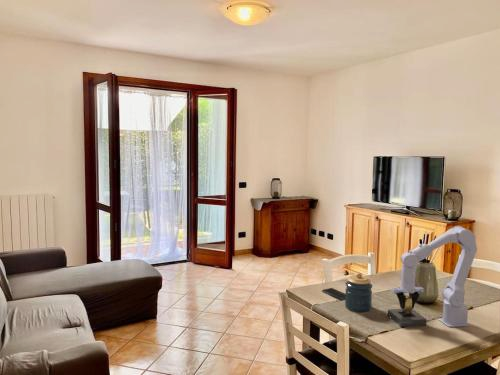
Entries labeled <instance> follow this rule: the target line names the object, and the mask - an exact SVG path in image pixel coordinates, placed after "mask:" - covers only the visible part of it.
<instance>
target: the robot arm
mask: <svg viewBox="0 0 500 375" xmlns="http://www.w3.org/2000/svg"><path fill="white" fill-rule="evenodd" d="M476 239H477V238H476V235H475V234H474V232H473V231H472V230H469V229H467V228H464V227H463V226H462V225H461V226H460V225H455V226H453V227H452V228H449V229H448V230H447V231H445V232H444V233H442V234H441V235H440V236H438V237H436V238H435V239H433V240H432V241H431V242H429V243H419V244H418V245H417V247H416V248H414V249H409V250H408V252H407V251H406V252H403V253H402V255H401V256H400V257H399V258H400V262H401V263H402V264H401V276H400V277H401V278H400V280H401V281H400V282H401V283H400V284H401V285H400V286H399V287H395V288H393V287H392V288H391V293H392V295H396V297H397V299H398V302H399V307H400V308H399V309H404V304H405V298H406V296H407V295H405V294H408V296H411V297H412V298H413V300H412V309H413V310H414V307H415V304H416V303H417V300H418V299H419V298H420V293H422V294H423V293H424V291H425V288H424V287H422V286H416V267H417V265H418V264H419V262H421V261H423V260H424V259H426V258H428V257H429V256H432V253H433V251H435V250H436V249H437V250H438V249H439V248H441V247H442V246H444V245H446V244H448V243H454V244H459V246H460V247H461V249H462V250H461V252H460V255H459V258H458V261H457V263H456V266H455V268H454V272H453V274H452V277H451V280H450V281H449V282H446V286H445V287H443V289H442V290H441V295H442V297H443V299H444V300H443V307H442V318H441V317H440V318H438V319H437V320H439V322H440V323H441V322H442V323H443V324H444V325H446V326H447V327H449V328H455V327H456V328H457V327H458V328H460V327H469V324H468V313H469V311H468V307H467V306H466V305H465V294H466V292H465V291H466V290H465V285H466V284H465V283H466V281H467V279H468V278H467V277H468V275H469V273H470V270H471V268H472V264H473V262H474V259H475V256H476V254H477V251H478V248H477V242H476Z"/></svg>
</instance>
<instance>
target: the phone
mask: <svg viewBox="0 0 500 375" xmlns="http://www.w3.org/2000/svg"><path fill="white" fill-rule="evenodd" d="M321 291H322V293H324V294H325V295H328V296H330V297H331V298H333V299H336V300H338V301H345V295H346V292H342V291H340V290H338V289H336V288H334V287H328V288H324V289H322V290H321Z"/></svg>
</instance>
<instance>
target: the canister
mask: <svg viewBox="0 0 500 375" xmlns="http://www.w3.org/2000/svg"><path fill="white" fill-rule="evenodd" d="M346 280H347V281H346V282H345V286H346V287H345V294H346V295H345V299H344V305H345V308H346V309H348V310H349V311H353V312H357V313H366V312H370V311H371V310H372V307H373V306H372V305H373V303H372V302H373V300H372V298H373V291H372V288H373V284H372V283H371V282H372V281H371V279H370V278H368V277H367V276H365V275H362V273H361V272H357V273H356V274H352V275H350V276H348V277H347V278H346Z"/></svg>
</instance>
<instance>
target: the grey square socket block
mask: <svg viewBox="0 0 500 375" xmlns="http://www.w3.org/2000/svg"><path fill="white" fill-rule="evenodd" d="M387 317H389V318H390V317H391V318H392V319H393V320H394V321H393V320H392V319H391V318H390V319H391V320H392V321H393V322H394V323H395V324H397V323H398V324H399V325H398V324H397V325H398V326H399V327H400V328H406V327H407V328H408V327H409V328H410V327H423V326H427V318H426V317H424V316H423V315H421V314H420V313H419V312H418V311H416V310H415V309H414V308H413V309H412V313H411V314H406V313H403V312H402V308H394V309H393V308H391V309H387Z"/></svg>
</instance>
